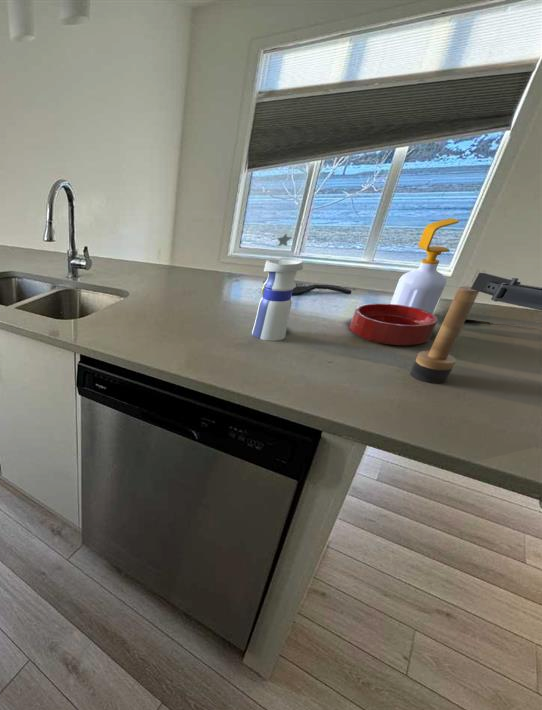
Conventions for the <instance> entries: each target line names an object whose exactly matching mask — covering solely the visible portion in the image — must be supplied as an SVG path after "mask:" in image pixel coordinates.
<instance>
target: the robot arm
mask: <svg viewBox="0 0 542 710" xmlns="http://www.w3.org/2000/svg"><path fill="white" fill-rule="evenodd" d="M521 283H522V282H520V281H519V278H517V277H512V278H511V279H510V278H505V277H501V276H497V275H494V274H493V275H492V274H489V273H486V272H478V274H477V276H476V278H475V280H474V282H473V283H472V285H471V286H470V287H471V289H473V290H476V291H479V293H483V294H485V295H489V296H492V297H491V301H493V302H501V303H505V304H508V305H513V306H518V307H524V308H526V309H528V308H529V309H532V310H537V311H542V286H541V287H540V286H534V285H528V284H521Z"/></svg>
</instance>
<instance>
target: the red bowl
mask: <svg viewBox="0 0 542 710" xmlns="http://www.w3.org/2000/svg"><path fill="white" fill-rule="evenodd" d="M438 321H439V319H438V316H436V315H435V314H434V313H433V314H432V313H430V312H427V311H425V310H422V309H418V308H414V307H410V306H404V305H397V304H390V303H384V302H383V303H382V302H381V303H377V302H375V303H365V304H360V305H359V306H357V307H356V308H355V309H354V311H353V314H352V318H351V320H350V324H349V330H350V331H351V332H352V334H355V335H356V336H359V337H361V338H363V339H365V340H368V341H371V342H374V343H378V344H383V345H391V346H411V345H413V346H414V345H421V344H423V343H424V344H425V343H427V342H428V341H429V340H430V339H431V337H432V335H433V332H434V330H435V328H436V325H437V324H438Z"/></svg>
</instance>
